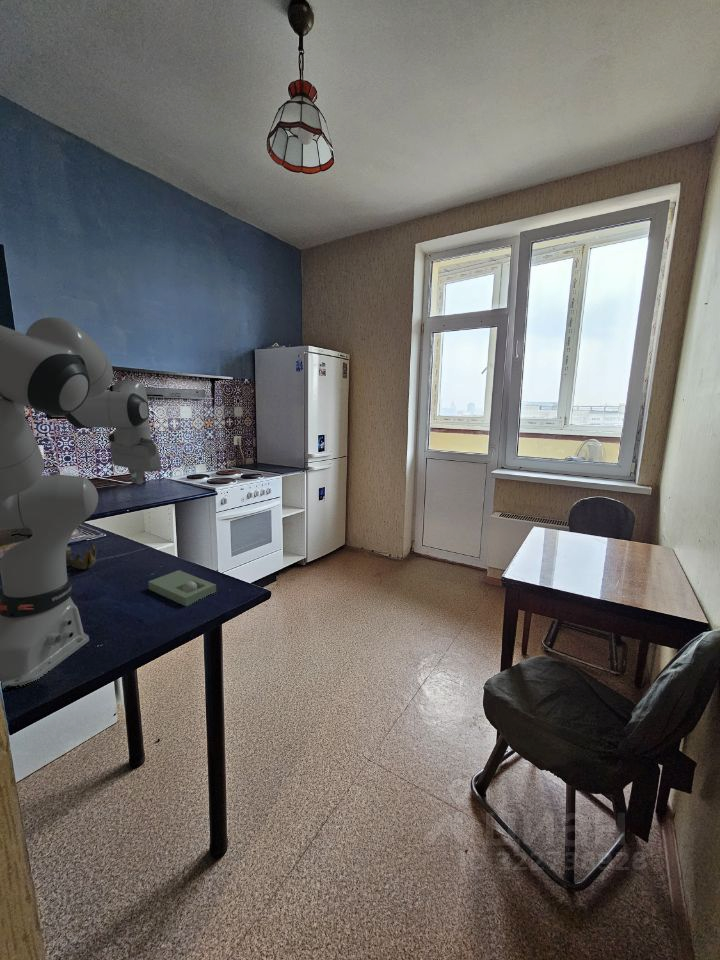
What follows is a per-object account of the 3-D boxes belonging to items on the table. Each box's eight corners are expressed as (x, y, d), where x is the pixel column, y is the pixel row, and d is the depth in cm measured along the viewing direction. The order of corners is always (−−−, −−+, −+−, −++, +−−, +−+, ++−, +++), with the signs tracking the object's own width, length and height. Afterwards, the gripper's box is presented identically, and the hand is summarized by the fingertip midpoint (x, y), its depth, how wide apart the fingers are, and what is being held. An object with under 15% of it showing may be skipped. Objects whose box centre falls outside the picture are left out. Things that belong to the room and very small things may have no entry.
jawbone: (73, 565, 120) (67, 534, 122) (66, 578, 130) (61, 550, 132) (107, 558, 127) (102, 530, 129) (98, 571, 136) (93, 545, 139)
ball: (189, 578, 112) (182, 580, 114) (185, 592, 110) (178, 593, 112) (201, 581, 115) (194, 583, 117) (197, 595, 113) (190, 597, 115)
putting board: (216, 592, 115) (215, 584, 115) (186, 606, 107) (185, 598, 106) (179, 577, 124) (178, 570, 124) (148, 589, 116) (148, 581, 116)
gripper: (165, 439, 111) (168, 486, 114) (126, 434, 121) (129, 477, 124) (143, 440, 106) (147, 489, 108) (104, 435, 116) (108, 480, 119)
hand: (137, 483), depth 116 cm, fingers closed
